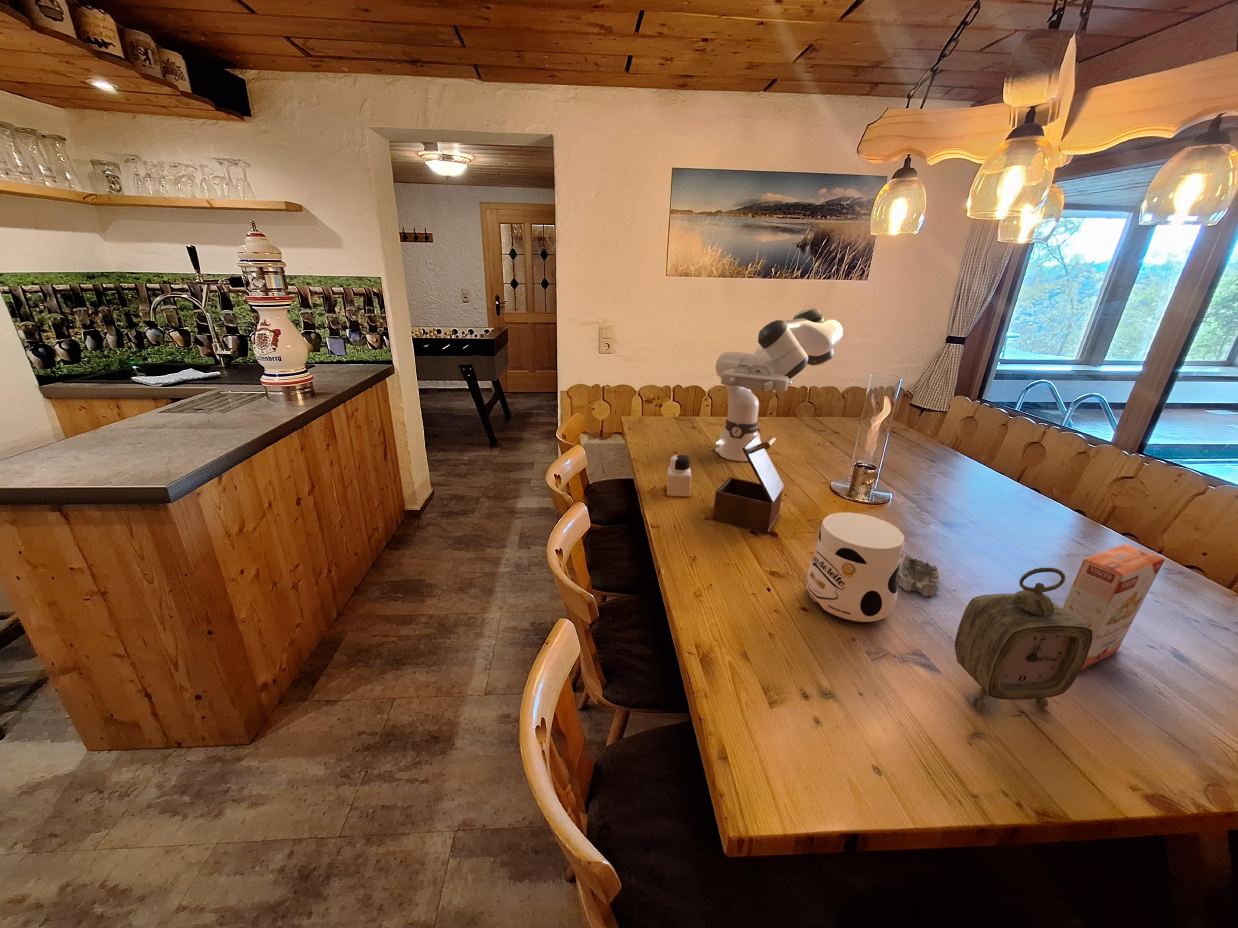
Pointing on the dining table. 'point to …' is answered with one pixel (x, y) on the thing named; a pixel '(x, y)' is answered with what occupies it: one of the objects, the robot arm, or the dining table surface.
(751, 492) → the chest
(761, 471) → the chest lid
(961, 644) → the tabletop clock
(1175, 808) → the dining table surface
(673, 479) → the medicine bottle
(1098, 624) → the cracker box
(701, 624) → the dining table surface
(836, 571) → the milk container
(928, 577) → the egg carton
